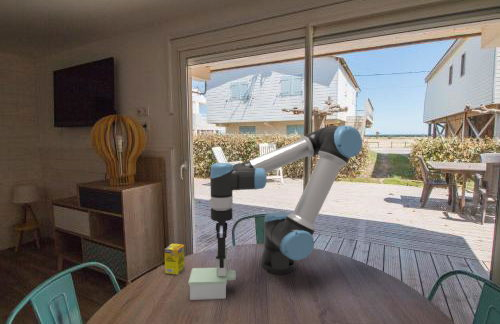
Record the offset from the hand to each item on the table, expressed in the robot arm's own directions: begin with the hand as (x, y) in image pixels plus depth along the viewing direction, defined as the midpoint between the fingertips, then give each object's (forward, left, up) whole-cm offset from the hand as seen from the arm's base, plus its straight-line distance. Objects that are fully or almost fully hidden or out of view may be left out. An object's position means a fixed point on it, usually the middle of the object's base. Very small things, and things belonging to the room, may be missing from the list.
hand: (221, 272), depth 96 cm
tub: (+5, 0, -8) cm, 9 cm away
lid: (+3, 0, -2) cm, 3 cm away
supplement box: (+20, -16, -8) cm, 26 cm away
